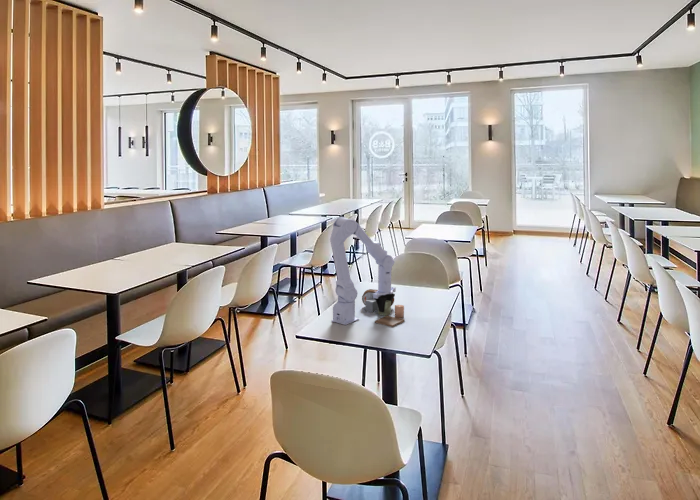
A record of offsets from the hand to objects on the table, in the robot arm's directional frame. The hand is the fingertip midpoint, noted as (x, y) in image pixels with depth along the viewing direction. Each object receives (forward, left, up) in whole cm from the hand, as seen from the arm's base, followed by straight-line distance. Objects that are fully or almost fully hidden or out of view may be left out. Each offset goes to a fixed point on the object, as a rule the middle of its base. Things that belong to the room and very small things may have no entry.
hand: (384, 310), depth 213 cm
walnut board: (-7, -8, -2) cm, 11 cm away
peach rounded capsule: (+1, -8, -2) cm, 8 cm away
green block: (0, 0, -2) cm, 2 cm away
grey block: (+1, +7, -2) cm, 8 cm away
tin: (+6, +8, -2) cm, 10 cm away
